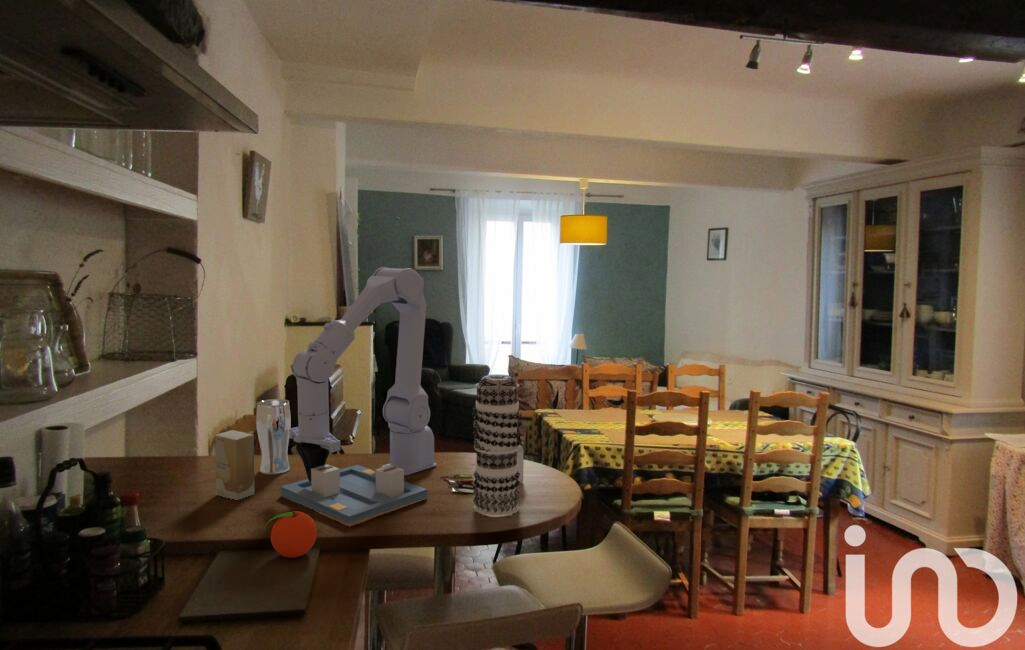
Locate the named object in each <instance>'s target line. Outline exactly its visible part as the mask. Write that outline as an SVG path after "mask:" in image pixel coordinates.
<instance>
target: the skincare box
mask: <svg viewBox="0 0 1025 650" xmlns="http://www.w3.org/2000/svg"><path fill="white" fill-rule="evenodd" d="M214 441H215V443H214V446H215V453H214V454H215V495H216V496H218V495H219V497H221V496H222V498H225V497H226V498H225V499H228V498H230V499H229V500H232V499H235V500H239V499H241V500H243V499H242V498H244V499H246V498H245V497H247V498H249V497H252V496H254V495H255V435H254V434H253V433H252V434H251V433H247V432H243V431H238V430H234V429H232V430H231V429H230V430H227V431H224V432H221V433H218V434H215V435H214ZM251 495H252V496H251ZM248 496H249V497H248ZM235 500H234V501H235ZM239 501H240V500H239Z"/></svg>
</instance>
